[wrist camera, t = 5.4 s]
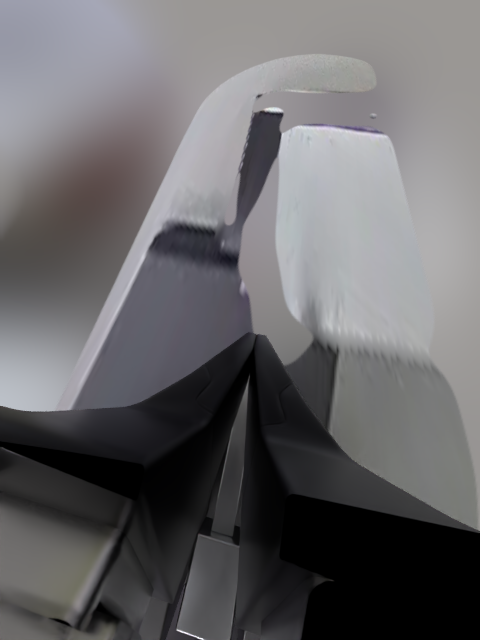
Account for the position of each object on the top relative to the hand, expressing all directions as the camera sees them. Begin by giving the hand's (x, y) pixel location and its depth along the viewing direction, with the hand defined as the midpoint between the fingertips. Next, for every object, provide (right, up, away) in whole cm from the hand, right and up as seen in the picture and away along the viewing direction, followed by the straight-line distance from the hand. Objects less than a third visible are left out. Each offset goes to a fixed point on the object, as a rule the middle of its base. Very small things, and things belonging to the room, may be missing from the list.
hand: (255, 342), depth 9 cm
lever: (-1, -7, +4) cm, 8 cm away
